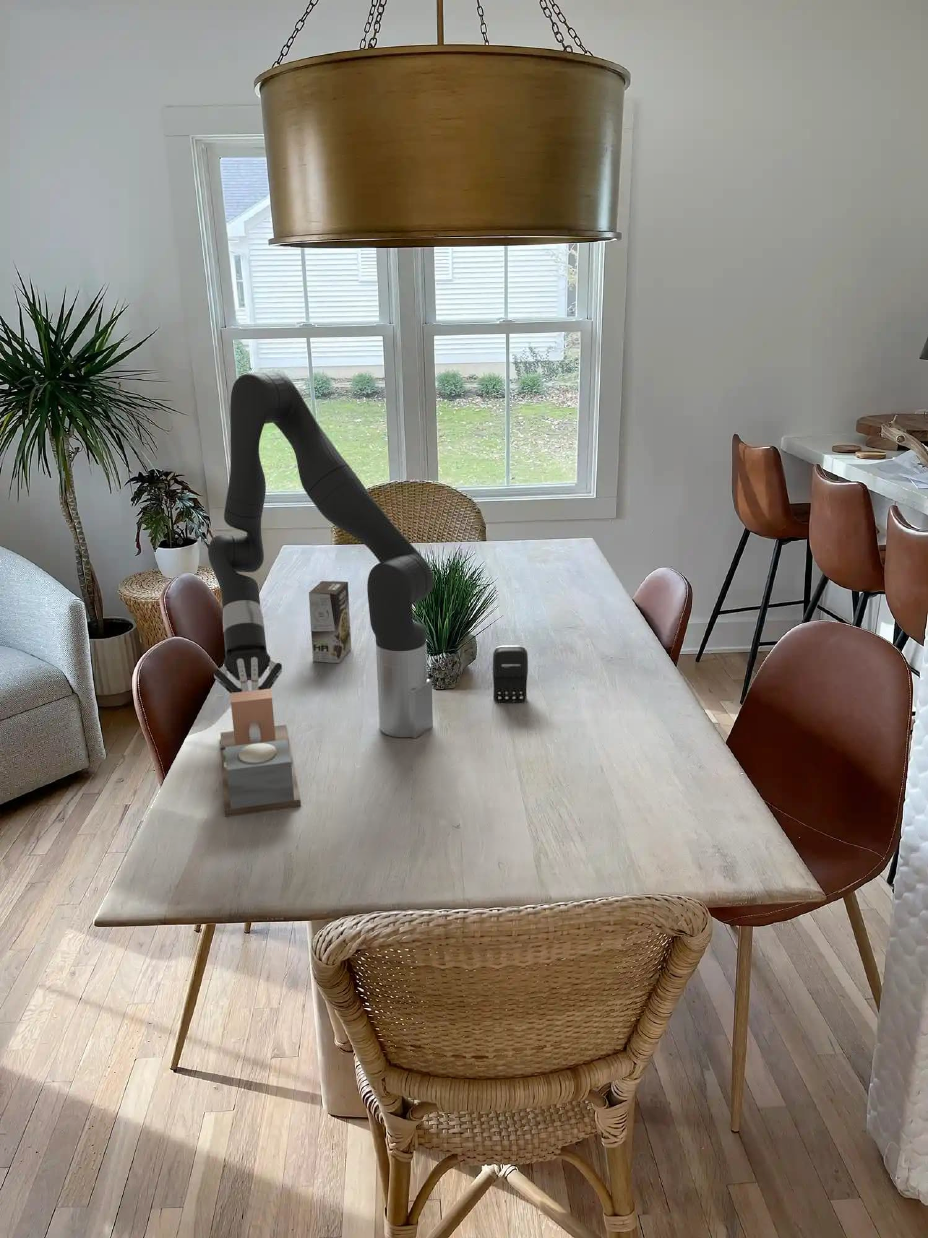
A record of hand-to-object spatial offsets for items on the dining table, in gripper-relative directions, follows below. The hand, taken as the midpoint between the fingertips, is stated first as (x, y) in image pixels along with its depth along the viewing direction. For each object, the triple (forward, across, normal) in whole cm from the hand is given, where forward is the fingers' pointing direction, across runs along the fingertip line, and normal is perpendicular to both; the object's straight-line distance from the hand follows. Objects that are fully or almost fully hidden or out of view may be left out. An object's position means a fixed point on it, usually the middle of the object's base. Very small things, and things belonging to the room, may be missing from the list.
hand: (252, 715), depth 177 cm
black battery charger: (+1, +50, +7) cm, 51 cm away
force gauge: (+11, 0, -4) cm, 12 cm away
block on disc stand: (+8, -1, -2) cm, 8 cm away
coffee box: (-23, +19, +31) cm, 43 cm away
